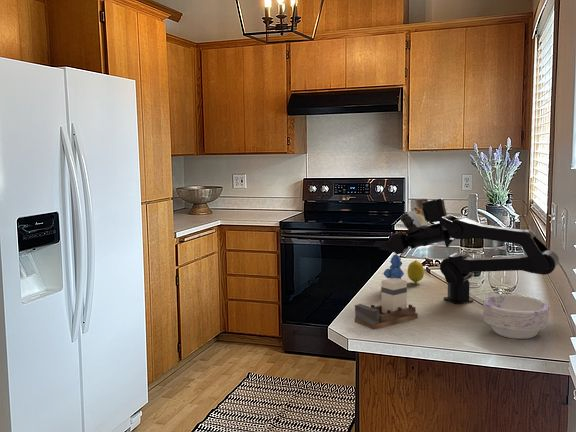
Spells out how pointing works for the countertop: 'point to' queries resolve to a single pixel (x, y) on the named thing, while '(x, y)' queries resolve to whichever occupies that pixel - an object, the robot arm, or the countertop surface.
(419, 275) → the lemon
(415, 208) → the coffee box
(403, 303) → the white banded pillar
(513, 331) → the paper bowls
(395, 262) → the grapes
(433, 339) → the countertop surface
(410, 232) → the robot arm
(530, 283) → the countertop surface
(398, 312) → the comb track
